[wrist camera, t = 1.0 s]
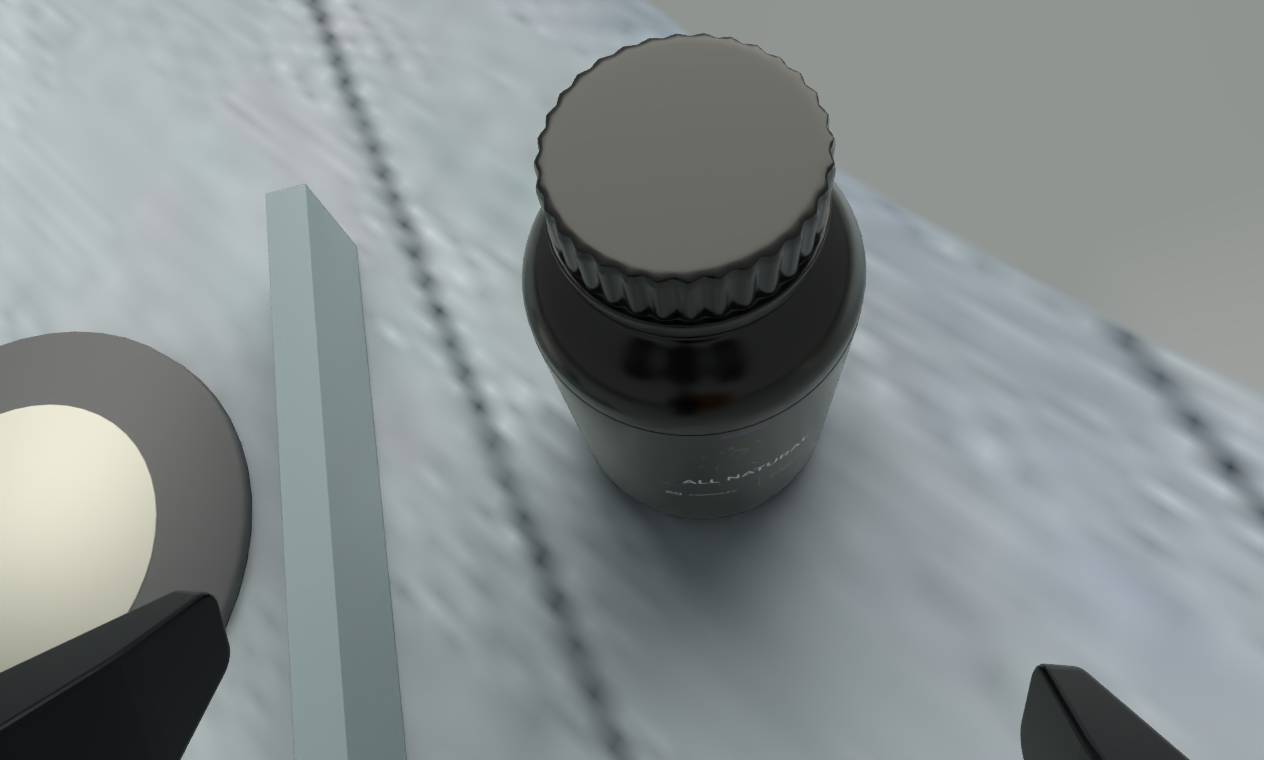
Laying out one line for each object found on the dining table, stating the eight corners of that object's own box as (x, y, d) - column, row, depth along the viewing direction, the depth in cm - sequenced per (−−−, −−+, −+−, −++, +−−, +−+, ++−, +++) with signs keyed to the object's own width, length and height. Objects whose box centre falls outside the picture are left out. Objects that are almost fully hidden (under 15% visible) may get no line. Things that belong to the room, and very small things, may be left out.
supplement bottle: (738, 574, 22) (739, 444, 11) (539, 438, 24) (373, 214, 13) (871, 371, 24) (985, 83, 13) (673, 260, 26) (624, -72, 15)
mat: (6, 940, 21) (-17, 947, 21) (-290, 637, 25) (-317, 635, 25) (346, 473, 25) (335, 466, 24) (38, 271, 29) (23, 261, 28)
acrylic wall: (407, 773, 22) (349, 785, 18) (362, 784, 22) (296, 797, 18) (356, 245, 28) (305, 183, 24) (320, 254, 28) (265, 193, 24)
